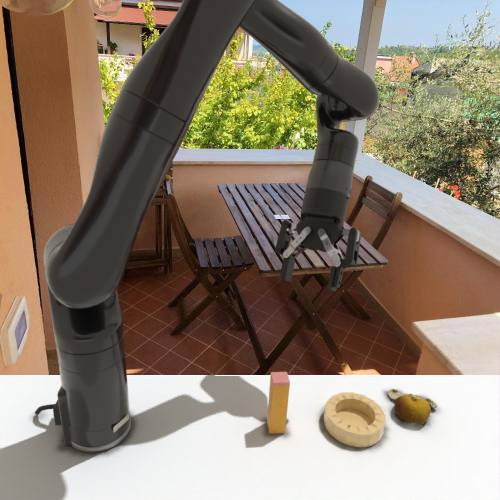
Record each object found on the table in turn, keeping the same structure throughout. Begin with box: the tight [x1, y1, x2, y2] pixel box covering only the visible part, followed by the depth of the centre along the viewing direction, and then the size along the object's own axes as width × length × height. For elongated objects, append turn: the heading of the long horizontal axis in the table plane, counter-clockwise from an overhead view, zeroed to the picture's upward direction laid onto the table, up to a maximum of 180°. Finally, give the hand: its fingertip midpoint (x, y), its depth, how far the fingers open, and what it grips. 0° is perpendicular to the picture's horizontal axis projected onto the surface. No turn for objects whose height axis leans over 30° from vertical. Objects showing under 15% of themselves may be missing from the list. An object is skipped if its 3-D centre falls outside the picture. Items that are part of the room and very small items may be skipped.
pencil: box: [266, 371, 291, 435], centre depth 68 cm, size 3×3×10 cm
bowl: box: [323, 391, 386, 448], centre depth 71 cm, size 10×10×3 cm
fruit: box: [387, 388, 438, 426], centre depth 74 cm, size 8×8×4 cm
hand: (308, 285), depth 71 cm, fingers open, 8 cm apart
